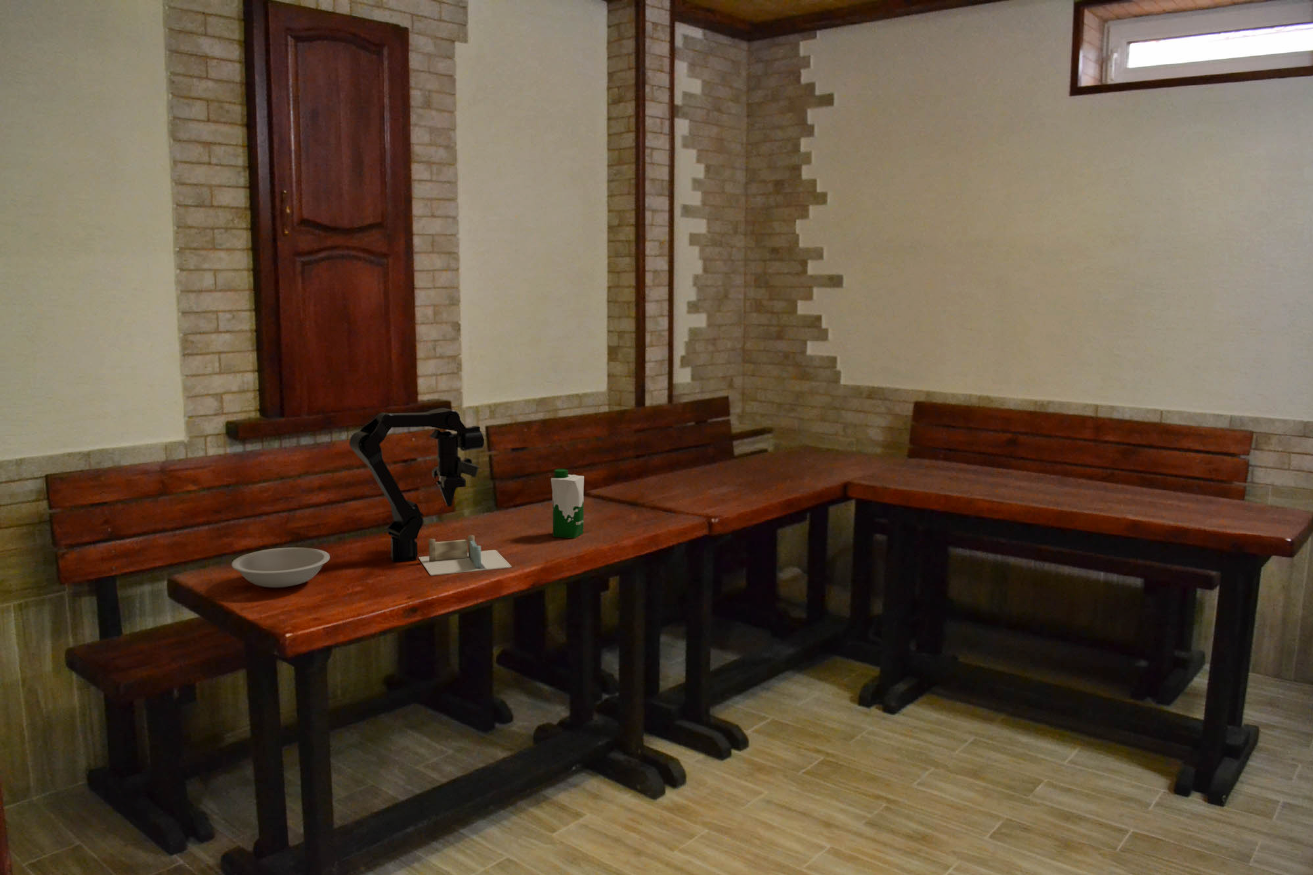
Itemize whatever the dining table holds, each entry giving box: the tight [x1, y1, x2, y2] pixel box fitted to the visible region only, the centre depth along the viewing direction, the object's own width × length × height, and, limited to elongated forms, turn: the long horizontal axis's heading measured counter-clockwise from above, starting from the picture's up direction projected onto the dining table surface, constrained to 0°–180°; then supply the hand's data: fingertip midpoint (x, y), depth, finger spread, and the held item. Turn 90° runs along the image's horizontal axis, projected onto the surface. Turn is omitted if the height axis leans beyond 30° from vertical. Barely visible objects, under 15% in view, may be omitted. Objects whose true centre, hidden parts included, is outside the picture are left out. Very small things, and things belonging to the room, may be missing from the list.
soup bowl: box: [231, 547, 331, 588], centre depth 287 cm, size 24×24×7 cm
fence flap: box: [470, 541, 482, 567], centre depth 306 cm, size 11×2×6 cm, turn 17°
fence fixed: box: [428, 534, 476, 561], centre depth 310 cm, size 13×2×6 cm, turn 112°
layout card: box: [418, 549, 512, 577], centre depth 308 cm, size 22×18×1 cm
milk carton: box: [550, 468, 585, 539], centre depth 337 cm, size 9×9×20 cm
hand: (449, 506), depth 319 cm, fingers closed
